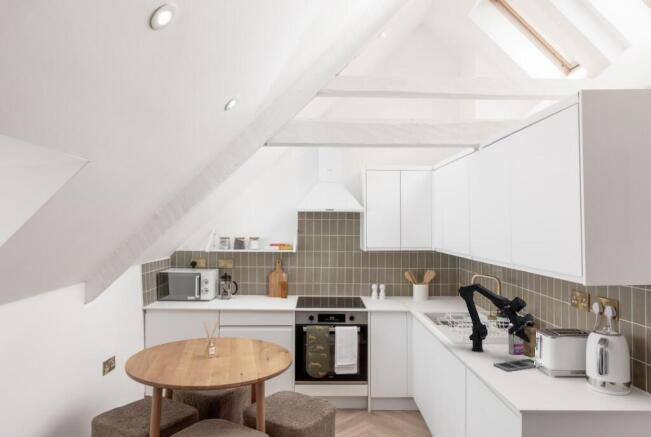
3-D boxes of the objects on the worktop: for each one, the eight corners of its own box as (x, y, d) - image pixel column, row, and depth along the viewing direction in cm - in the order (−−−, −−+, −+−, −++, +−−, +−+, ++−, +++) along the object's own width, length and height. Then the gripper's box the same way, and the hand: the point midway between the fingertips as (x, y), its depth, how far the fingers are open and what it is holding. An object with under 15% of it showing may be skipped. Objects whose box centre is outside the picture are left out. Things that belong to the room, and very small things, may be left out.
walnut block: (523, 355, 228) (523, 327, 228) (528, 353, 231) (528, 326, 231) (531, 357, 224) (532, 329, 224) (537, 356, 227) (537, 328, 227)
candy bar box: (523, 351, 253) (523, 323, 253) (529, 353, 248) (529, 325, 248) (507, 352, 250) (507, 325, 250) (513, 355, 245) (513, 326, 245)
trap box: (507, 372, 216) (507, 369, 216) (493, 366, 225) (493, 363, 225) (544, 367, 225) (544, 364, 225) (529, 361, 234) (529, 358, 234)
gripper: (513, 310, 226) (533, 335, 217) (532, 306, 237) (552, 330, 227) (499, 322, 233) (518, 347, 223) (519, 318, 243) (537, 342, 234)
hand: (532, 341), depth 227 cm, fingers closed on walnut block, 5 cm apart
